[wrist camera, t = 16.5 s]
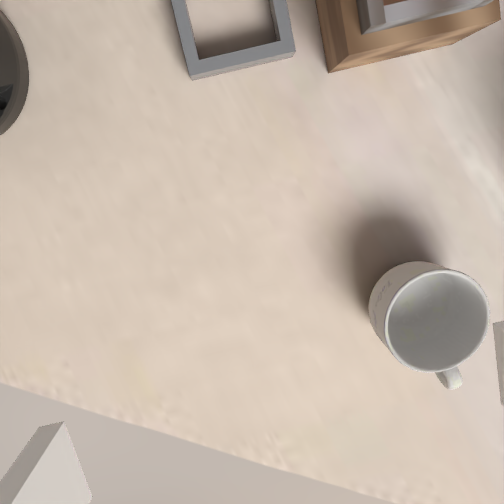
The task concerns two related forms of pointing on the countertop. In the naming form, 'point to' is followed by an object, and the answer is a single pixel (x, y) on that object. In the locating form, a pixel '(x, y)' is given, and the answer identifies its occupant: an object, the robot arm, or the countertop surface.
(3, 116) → the robot arm
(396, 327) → the teacup
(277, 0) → the gray square frame
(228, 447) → the countertop surface
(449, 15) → the walnut stand
